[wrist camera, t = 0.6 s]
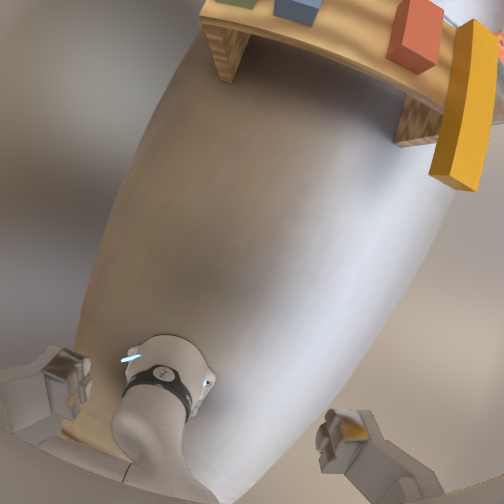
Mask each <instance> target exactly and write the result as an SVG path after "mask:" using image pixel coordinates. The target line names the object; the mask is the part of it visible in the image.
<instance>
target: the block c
mask: <svg viewBox="0 0 504 504" xmlns="http://www.w3.org/2000/svg"><path fill="white" fill-rule="evenodd" d="M443 16H444V10H443V9H442V8H440V7H438V6H437V5H435V4H434V3H432V2H430V1H428V0H403V1H402V2H401V3H400V4H399V5H398V6H397V10H396V15H395V19H394V24H393V28H392V33H391V37H390V42H389V46H388V50H387V54H386V58H387V59H389V60H391V61H393V62H395V63H397V64H399V65H401V66H402V67H404V68H406V69H408V70H410V71H412V72H414V73H415V74H417V75H419V74H421V73H423V72H425V71H427V70H428V69H430V68H432V67H434V66H436V65H437V61H438V55H439V48H440V41H441V33H442V25H443Z"/></svg>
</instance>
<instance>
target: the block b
mask: <svg viewBox="0 0 504 504" xmlns="http://www.w3.org/2000/svg"><path fill="white" fill-rule="evenodd" d="M321 3H322V0H275V3H274V10H273V15H275V16H278V17H282V18H285V19H288V20H292V21H295V22H298V23H301V24H304V25H307V26H310V27H312V25H313V23H314V20H315V18H316V16H317V13H318V11H319V9H320V6H321Z"/></svg>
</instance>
